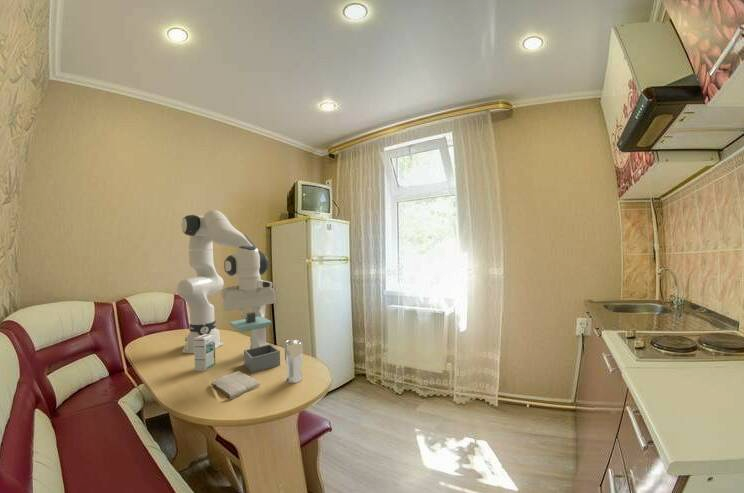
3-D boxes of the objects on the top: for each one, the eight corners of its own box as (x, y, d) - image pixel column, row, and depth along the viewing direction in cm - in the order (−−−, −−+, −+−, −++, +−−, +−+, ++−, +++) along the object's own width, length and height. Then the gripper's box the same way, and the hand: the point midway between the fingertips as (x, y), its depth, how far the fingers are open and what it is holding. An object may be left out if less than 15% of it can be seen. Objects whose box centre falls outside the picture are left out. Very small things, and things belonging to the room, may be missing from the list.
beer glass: (284, 377, 113) (283, 340, 113) (302, 374, 115) (301, 338, 115) (286, 385, 106) (285, 346, 106) (305, 381, 109) (304, 343, 109)
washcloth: (238, 375, 117) (238, 368, 117) (262, 388, 106) (261, 379, 106) (208, 387, 108) (207, 379, 108) (230, 402, 97) (230, 393, 97)
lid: (230, 327, 118) (229, 313, 118) (261, 321, 126) (261, 308, 126) (238, 334, 108) (237, 318, 108) (271, 327, 116) (271, 313, 116)
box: (244, 366, 125) (243, 350, 125) (271, 358, 133) (270, 344, 133) (251, 375, 116) (251, 358, 116) (280, 366, 123) (279, 351, 123)
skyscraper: (268, 351, 143) (266, 297, 143) (267, 357, 136) (266, 299, 136) (250, 354, 141) (249, 298, 141) (248, 360, 133) (247, 301, 133)
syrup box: (206, 371, 121) (205, 338, 121) (194, 371, 122) (193, 337, 122) (215, 366, 126) (215, 334, 126) (204, 365, 127) (203, 333, 127)
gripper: (223, 288, 108) (224, 324, 108) (276, 282, 121) (277, 314, 121) (220, 286, 113) (221, 321, 113) (270, 281, 126) (272, 312, 126)
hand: (250, 317), depth 117 cm, fingers closed on lid, 3 cm apart
